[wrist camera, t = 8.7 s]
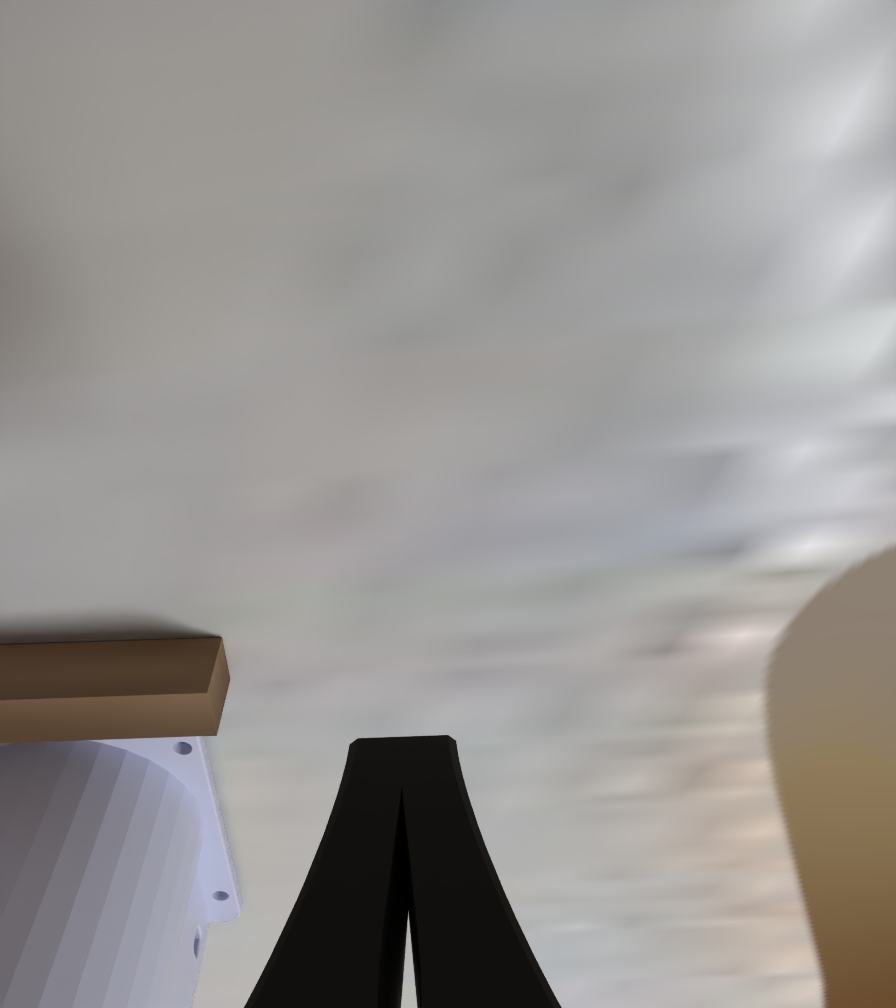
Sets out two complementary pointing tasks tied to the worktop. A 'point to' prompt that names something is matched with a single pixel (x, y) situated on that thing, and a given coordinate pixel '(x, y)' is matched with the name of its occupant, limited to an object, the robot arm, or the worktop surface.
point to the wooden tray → (112, 690)
